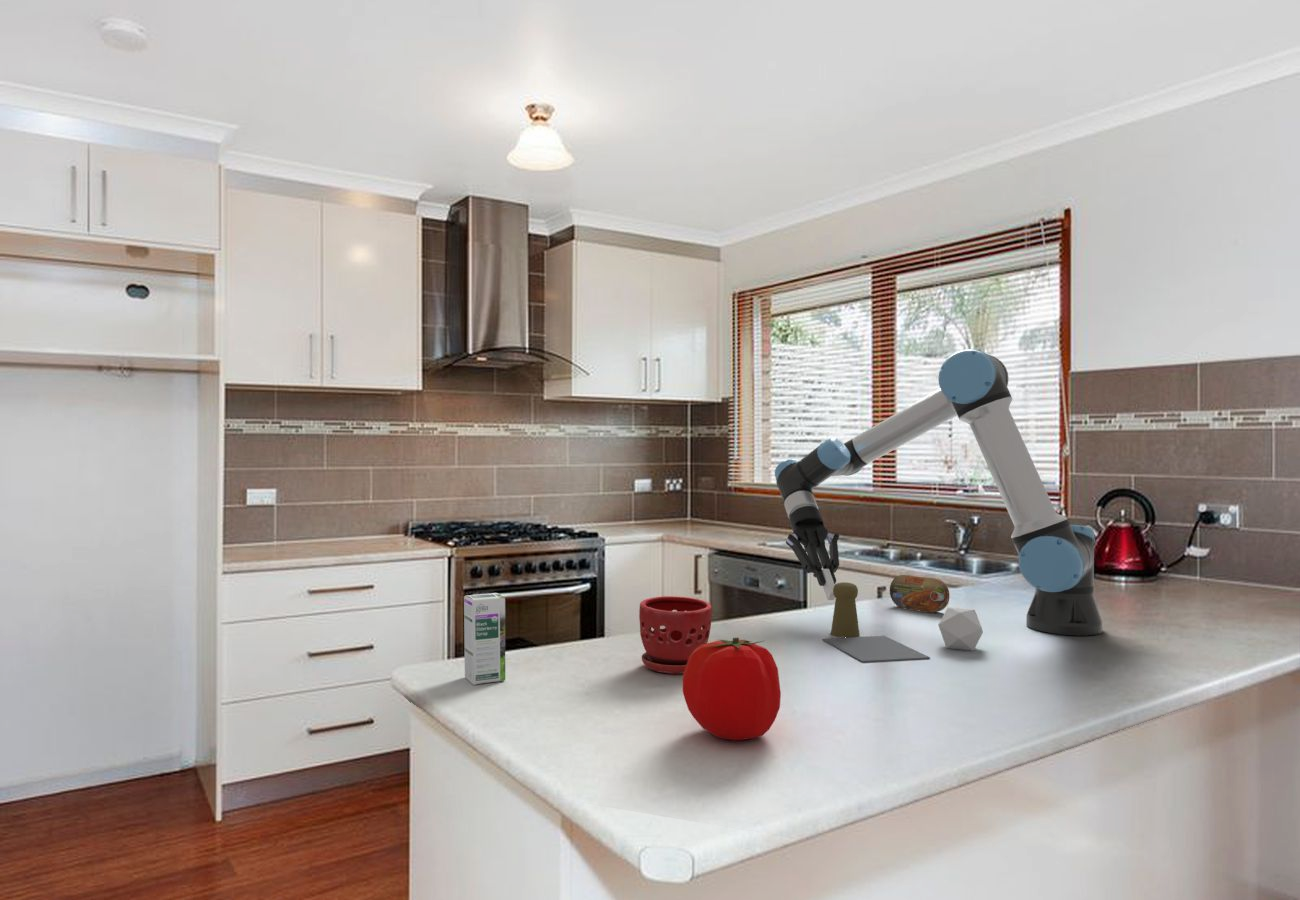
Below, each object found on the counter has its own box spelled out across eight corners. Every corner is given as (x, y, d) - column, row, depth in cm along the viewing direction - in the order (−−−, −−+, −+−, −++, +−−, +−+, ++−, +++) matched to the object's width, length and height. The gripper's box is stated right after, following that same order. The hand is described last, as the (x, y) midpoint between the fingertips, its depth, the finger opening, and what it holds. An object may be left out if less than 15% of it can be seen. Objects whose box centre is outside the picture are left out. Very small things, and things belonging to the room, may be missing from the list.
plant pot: (628, 673, 149) (628, 606, 149) (653, 656, 161) (653, 593, 161) (699, 681, 145) (699, 611, 144) (719, 662, 157) (719, 598, 157)
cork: (864, 634, 180) (865, 583, 180) (850, 639, 176) (851, 586, 176) (839, 629, 185) (840, 579, 184) (825, 634, 180) (825, 583, 180)
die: (986, 648, 171) (960, 606, 175) (997, 636, 163) (971, 592, 168) (950, 664, 170) (925, 621, 175) (960, 652, 162) (934, 608, 167)
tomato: (779, 756, 110) (780, 652, 110) (675, 749, 113) (675, 647, 113) (781, 718, 126) (782, 626, 126) (690, 712, 128) (690, 622, 128)
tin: (888, 606, 211) (889, 572, 211) (895, 604, 214) (895, 571, 214) (944, 615, 200) (945, 580, 200) (951, 613, 203) (951, 578, 202)
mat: (822, 640, 175) (822, 638, 175) (884, 637, 178) (884, 635, 178) (862, 662, 157) (862, 660, 157) (930, 658, 160) (930, 657, 160)
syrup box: (472, 685, 141) (473, 599, 141) (463, 676, 147) (463, 593, 146) (505, 681, 144) (506, 596, 144) (495, 672, 149) (495, 591, 149)
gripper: (824, 523, 206) (854, 604, 190) (774, 524, 204) (800, 607, 188) (833, 503, 201) (865, 585, 185) (782, 504, 198) (809, 587, 182)
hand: (832, 596), depth 186 cm, fingers closed
